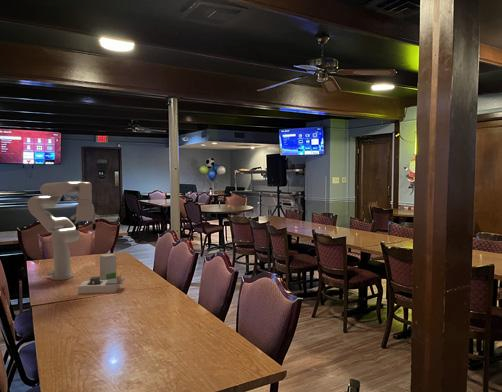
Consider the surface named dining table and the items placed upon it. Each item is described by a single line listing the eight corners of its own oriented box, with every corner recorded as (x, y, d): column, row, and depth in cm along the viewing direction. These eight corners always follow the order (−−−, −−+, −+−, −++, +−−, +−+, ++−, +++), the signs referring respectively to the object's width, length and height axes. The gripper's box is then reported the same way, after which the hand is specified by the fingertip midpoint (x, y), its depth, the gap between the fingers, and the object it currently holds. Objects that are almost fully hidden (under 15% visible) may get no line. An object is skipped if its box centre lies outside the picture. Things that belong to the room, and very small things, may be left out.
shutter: (105, 284, 217) (105, 277, 217) (109, 280, 226) (108, 273, 226) (121, 283, 218) (121, 276, 218) (124, 279, 228) (124, 272, 227)
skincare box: (105, 281, 239) (104, 256, 238) (99, 279, 243) (98, 255, 242) (117, 278, 245) (116, 254, 244) (111, 277, 249) (110, 253, 248)
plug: (89, 291, 217) (89, 279, 217) (92, 288, 224) (92, 276, 223) (96, 291, 218) (96, 279, 217) (99, 288, 224) (99, 276, 224)
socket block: (78, 293, 214) (78, 286, 214) (84, 287, 226) (84, 280, 225) (115, 292, 217) (115, 285, 217) (119, 286, 229) (119, 279, 228)
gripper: (68, 202, 231) (68, 231, 231) (98, 202, 233) (99, 230, 234) (72, 201, 238) (72, 229, 239) (101, 201, 241) (101, 228, 241)
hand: (85, 229), depth 236 cm, fingers open, 9 cm apart
